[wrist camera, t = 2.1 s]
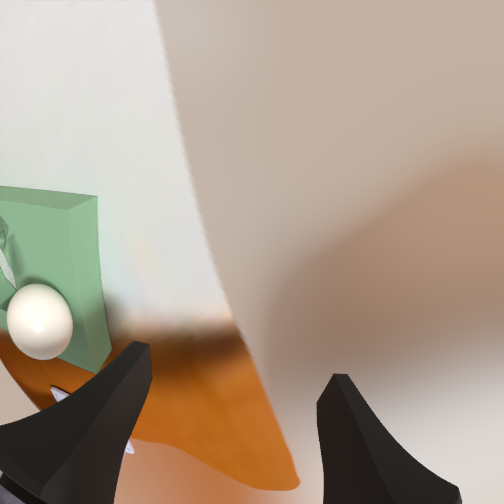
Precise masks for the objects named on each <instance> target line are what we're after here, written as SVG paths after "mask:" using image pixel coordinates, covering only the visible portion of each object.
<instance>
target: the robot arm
mask: <svg viewBox="0 0 504 504" xmlns="http://www.w3.org/2000/svg"><path fill="white" fill-rule="evenodd" d="M152 378H153V376H152V368H151V359H150V348H149V344H146V343H142V342H138V341H133V342H132V343H131V344H130V345H129V346H128V347H127V348H126V349H125V350H123V351H122V352H121V353H120V354H119V355H118V356H117V357H116V358H115V359H114V360H113V361H112V362H111V363H109V364H108V365H107V366H106V367H105V368H104V369H102V370H101V371H100V372H99V373H98V374H97V375H95V376H94V377H93V378H92V379H90V380H89V381H88V382H87V383H85V384H84V385H83V386H81V387H80V388H79V389H77V390H76V391H74V392H73V393H71V394H70V395H69V394H67V393H65V392H63V391H61V390H59V389H57V388H55V387H52V388H51V392H52V393H53V395H54V397H55V399H56V400H57V403H55V404H53V405H52V406H50V407H48V408H46V409H44V410H42V411H40V412H38V413H36V414H33V415H31V416H28V417H26V418H23V419H21V420H18V421H15V422H12V423H8V424H5V425H1V426H0V470H1V471H2V472H3V473H2V472H1V471H0V504H114V497H115V491H116V485H117V481H118V476H119V471H120V468H121V464H122V462H123V459H124V456H125V453H126V452H128V453H131V454H134V452H135V451H134V449H133V447H132V445H131V442H130V440H129V438H130V435H131V433H132V431H133V428H134V426H135V424H136V421H137V419H138V417H139V414H140V412H141V410H142V407H143V405H144V403H145V400H146V398H147V394H148V391H149V388H150V384H151V381H152ZM317 427H318V435H319V442H320V449H321V456H322V463H323V472H324V498H323V504H462V499H461V495H460V492H459V488H458V487H457V486H455V485H453V484H451V483H450V482H447V481H446V480H444V479H442V478H440V477H439V476H437V475H436V474H434V473H433V472H431V471H430V470H428V469H427V468H426V467H424V466H423V465H422V464H421V463H419V462H418V461H417V460H416V459H415V458H413V457H412V456H411V455H410V454H409V453H408V452H407V451H406V450H405V449H404V448H403V447H402V446H401V445H400V444H399V443H398V442H397V441H396V440H395V439H394V438H393V437H392V435H391V434H390V433H389V432H388V431H387V429H386V428H385V427H384V426H383V424H382V423H381V422H380V421H379V419H378V418H377V417H376V415H375V414H374V412H373V411H372V410H371V408H370V407H369V405H368V404H367V403H366V401H365V400H364V398H363V397H362V395H361V394H360V392H359V391H358V389H357V388H356V386H355V385H354V383H353V382H352V381H351V379H350V377H349V376H348V375H347V374H333V376H332V377H331V379H330V381H329V383H328V384H327V386H326V388H325V390H324V391H323V393H322V394H321V396H320V398H319V400H318V401H317Z"/></svg>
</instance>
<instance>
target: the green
mask: <svg viewBox="0 0 504 504" xmlns="http://www.w3.org/2000/svg"><path fill="white" fill-rule="evenodd" d="M0 249H1V250H2V252H3V254H4V256H5V258H6V260H7V262H8V264H9V266H10V268H11V270H12V272H13V275H14V279H15V283H16V287H17V290H20V289H21V288H22V287H24V286H27V285H30V284H43V285H46V286H49V287H51V288H53V289H54V290H56V291H57V292H58V293H59V294H60V295H61V296H62V297H63V298H64V300H65V301H66V303H67V305H68V307H69V309H70V312H71V315H72V320H73V331H72V336H71V340H70V342H69V344H68V346H67V347H66V349H65V350H64V351H63V352H62V353H61V354H60V355H58V356H56V357H57V358H59V359H61V360H64V361H66V362H68V363H70V364H73V365H75V366H77V367H80V368H82V369H85V370H87V371H90V372H92V373H95V374H98V373H99V371H100V369H101V367H102V366H103V364H104V362H105V360H106V359H107V357H108V355H109V354H110V352H111V350H112V346H111V341H110V336H109V331H108V325H107V319H106V313H105V307H104V300H103V292H102V284H101V274H100V264H99V250H98V230H97V196H91V195H83V194H74V193H66V192H57V191H47V190H38V189H28V188H17V187H6V186H0ZM17 290H16V289H15V288H14V287H13V286H12V285H11V283H10V282H9V281H8V280H7V279H6V278H5V276H4V274H3V272H2V270H1V268H0V327H1V328H3V329H4V330H6V331H8V332H9V330H8V326H7V310H8V306H9V303H10V301H11V299H12V297H13V296H14V294H15V293H16V292H17Z"/></svg>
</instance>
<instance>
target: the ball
mask: <svg viewBox="0 0 504 504" xmlns="http://www.w3.org/2000/svg"><path fill="white" fill-rule="evenodd" d="M7 326H8V330H9V333H10V336H11V338H12V340H13V342H14V343H15V345H16V346H17V347H18V348H19V349H20V350H21V351H22V352H23V353H25V354H26V355H28V356H29V357H32V358H34V359H39V360H48V359H52V358H55V357H56V356H58V355H60V354H61V353H62V352H63V351H64V350H65V349H66V347H67V346H68V344H69V342H70V340H71V336H72V331H73V320H72V315H71V312H70V309H69V307H68V305H67V303H66V301H65V300H64V298H63V297H62V296H61V295H60V294H59V293H58V292H57V291H56V290H54V289H53V288H51V287H49V286H46V285H43V284H30V285H27V286H24V287H22V288H21V289H20V290H18V291H17V292H16V293H15V294H14V296H13V297H12V299H11V301H10V303H9V306H8V310H7Z"/></svg>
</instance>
